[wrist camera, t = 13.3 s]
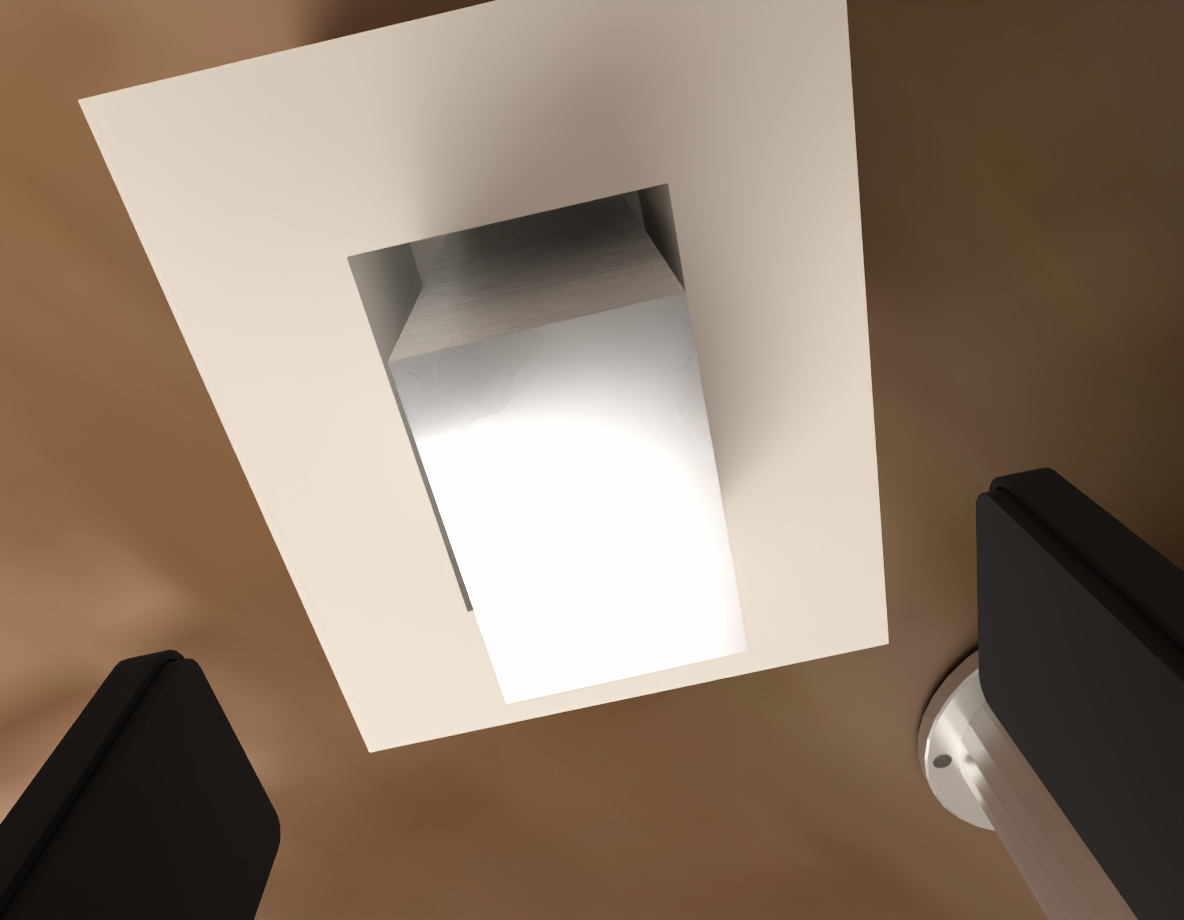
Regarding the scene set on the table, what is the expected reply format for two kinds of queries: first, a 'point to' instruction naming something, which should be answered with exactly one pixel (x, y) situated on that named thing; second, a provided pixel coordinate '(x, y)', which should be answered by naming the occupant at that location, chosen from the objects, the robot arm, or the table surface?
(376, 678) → the white box with slot
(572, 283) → the white rectangular block
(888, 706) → the table surface
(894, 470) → the table surface
